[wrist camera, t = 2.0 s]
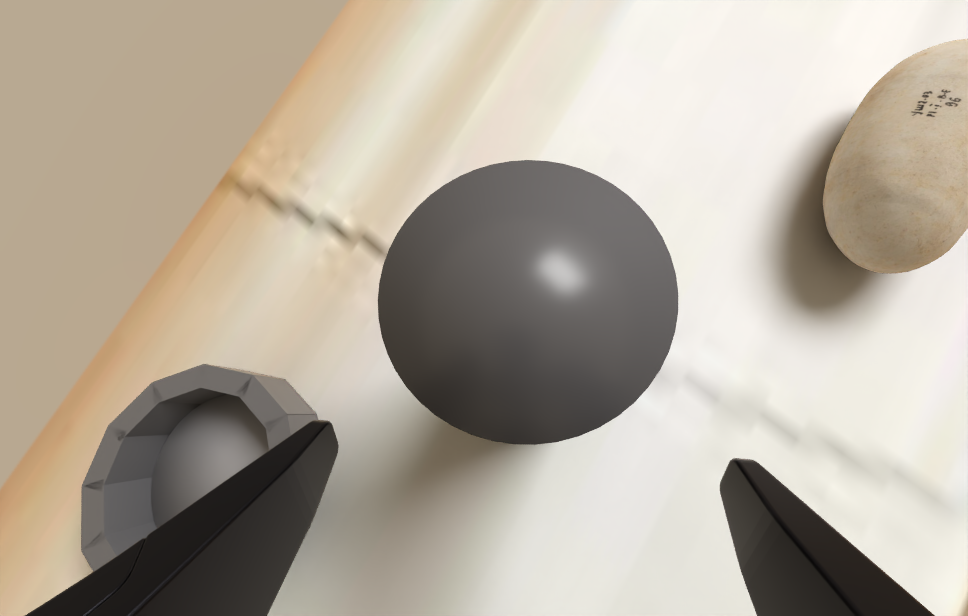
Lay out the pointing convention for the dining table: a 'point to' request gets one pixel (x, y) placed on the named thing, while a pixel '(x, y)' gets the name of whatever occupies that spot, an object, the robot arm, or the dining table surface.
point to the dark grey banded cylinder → (528, 302)
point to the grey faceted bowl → (180, 450)
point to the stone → (904, 165)
